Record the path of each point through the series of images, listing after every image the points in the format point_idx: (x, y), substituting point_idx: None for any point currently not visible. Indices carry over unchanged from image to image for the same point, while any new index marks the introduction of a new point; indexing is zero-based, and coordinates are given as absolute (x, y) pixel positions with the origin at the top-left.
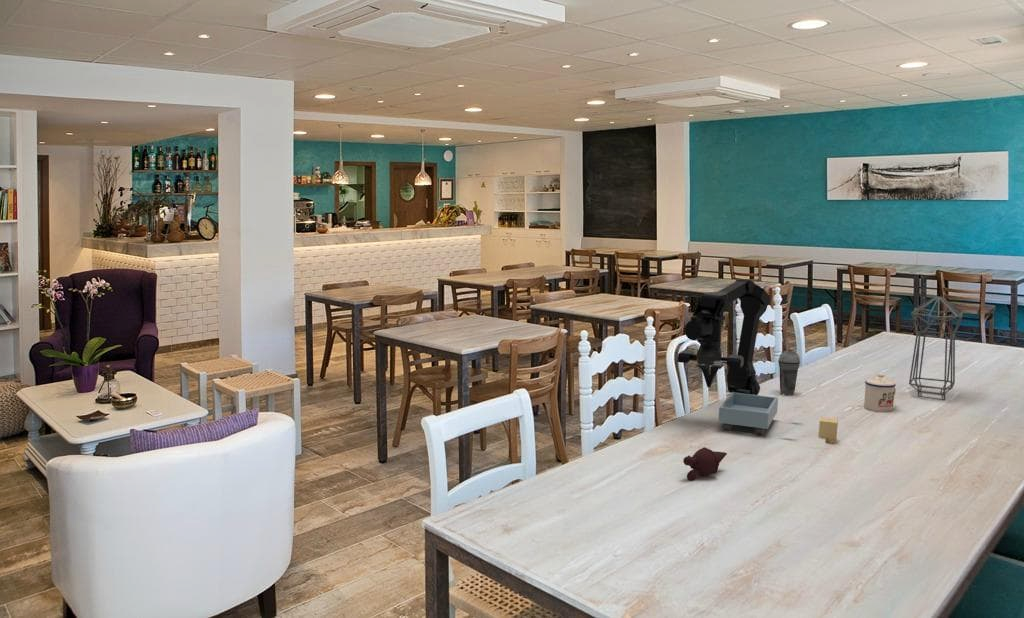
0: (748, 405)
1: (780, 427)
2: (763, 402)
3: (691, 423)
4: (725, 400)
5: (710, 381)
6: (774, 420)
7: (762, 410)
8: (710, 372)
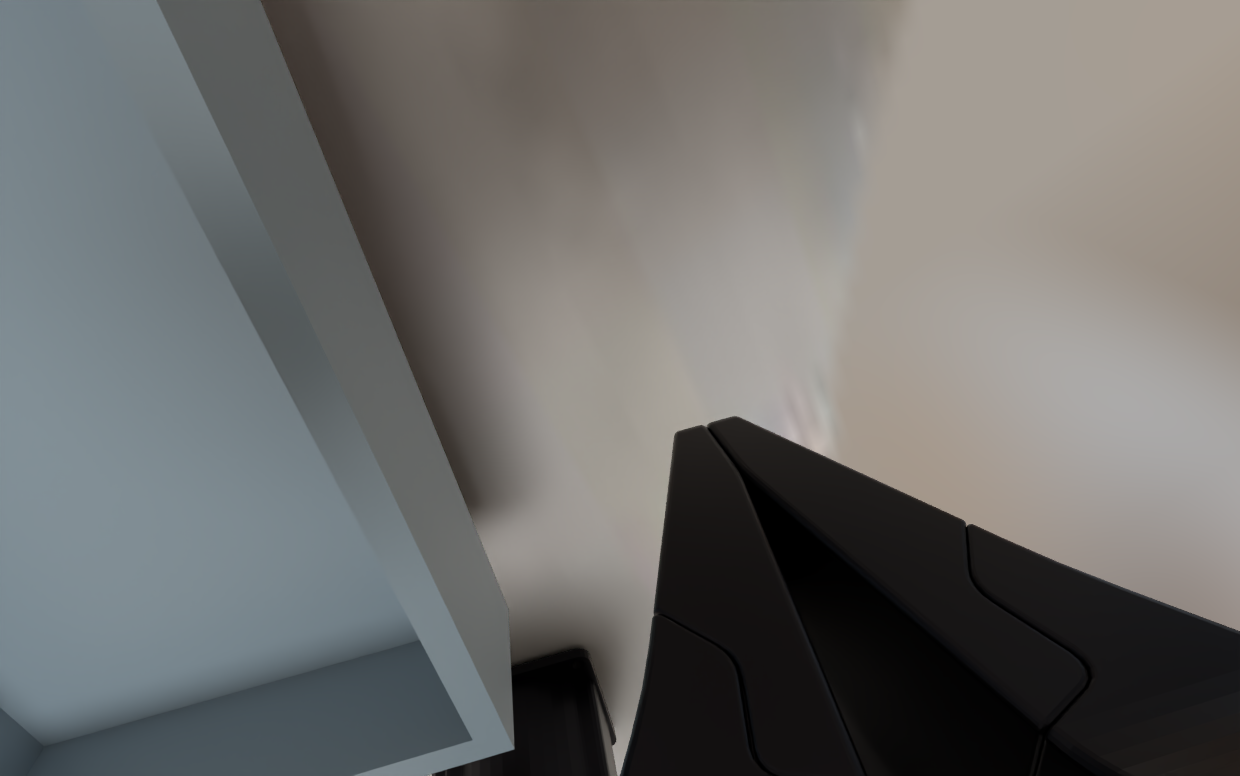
0: (319, 672)
1: None
2: (135, 771)
3: (730, 142)
4: (325, 366)
5: (702, 503)
6: None
7: (80, 638)
8: (845, 753)
